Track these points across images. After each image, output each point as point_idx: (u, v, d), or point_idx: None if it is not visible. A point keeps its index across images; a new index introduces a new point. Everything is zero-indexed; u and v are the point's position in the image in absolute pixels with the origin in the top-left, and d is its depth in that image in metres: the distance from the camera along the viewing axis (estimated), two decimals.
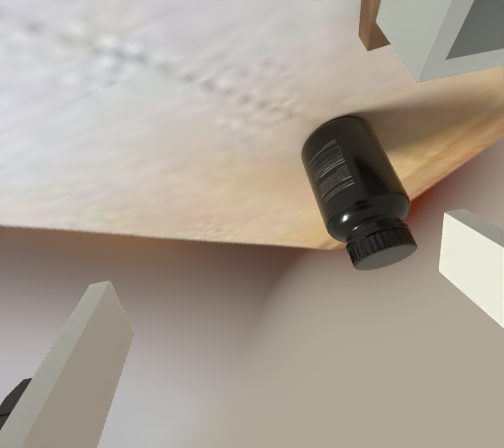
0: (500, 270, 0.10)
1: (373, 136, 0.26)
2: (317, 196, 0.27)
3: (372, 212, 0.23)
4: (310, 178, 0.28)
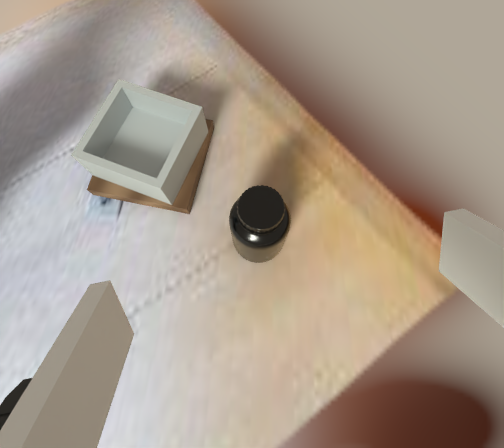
0: (499, 270, 0.10)
1: None
2: (247, 251, 0.36)
3: (234, 213, 0.34)
4: (248, 256, 0.38)
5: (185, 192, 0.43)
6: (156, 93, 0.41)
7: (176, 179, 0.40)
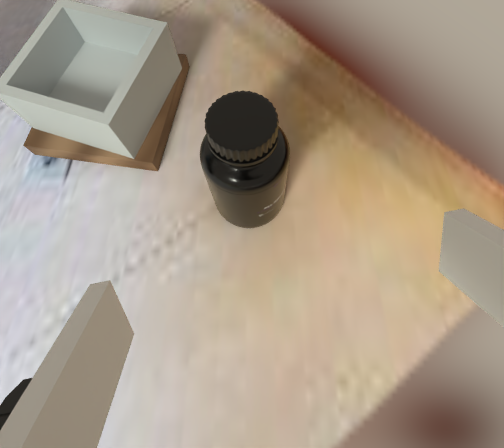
0: (499, 270, 0.10)
1: None
2: (229, 204, 0.25)
3: (206, 142, 0.23)
4: (233, 214, 0.27)
5: (150, 142, 0.32)
6: (107, 10, 0.31)
7: (135, 120, 0.30)
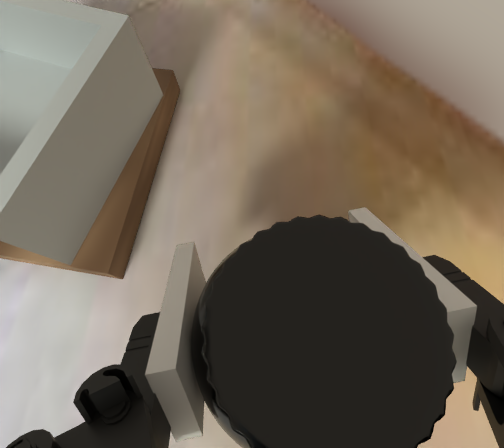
0: None
1: None
2: None
3: None
4: None
5: (107, 231, 0.18)
6: None
7: (65, 203, 0.15)
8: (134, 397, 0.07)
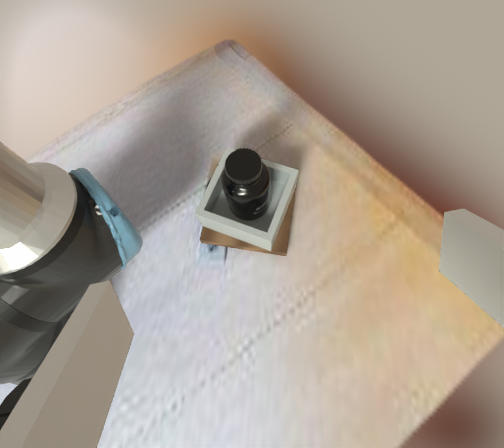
0: (499, 270, 0.10)
1: None
2: (236, 206, 0.45)
3: (224, 173, 0.43)
4: (239, 212, 0.47)
5: (283, 238, 0.50)
6: None
7: (277, 230, 0.48)
8: None
